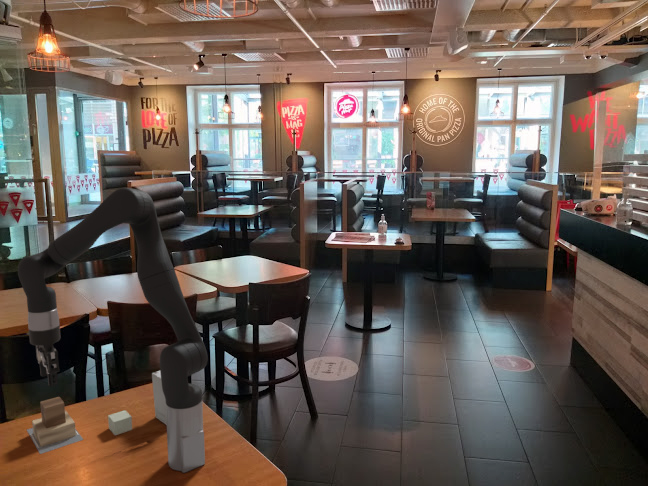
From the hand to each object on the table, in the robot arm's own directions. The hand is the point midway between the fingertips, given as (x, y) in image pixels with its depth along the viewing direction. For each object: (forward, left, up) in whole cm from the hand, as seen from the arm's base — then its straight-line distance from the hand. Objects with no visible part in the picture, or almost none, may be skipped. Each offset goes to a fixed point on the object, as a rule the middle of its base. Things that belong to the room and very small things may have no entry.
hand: (49, 380), depth 144 cm
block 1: (0, 0, -13) cm, 13 cm away
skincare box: (-11, -30, -18) cm, 36 cm away
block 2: (-9, -16, -18) cm, 25 cm away
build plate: (0, 0, -17) cm, 17 cm away
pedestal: (0, 0, -17) cm, 17 cm away
